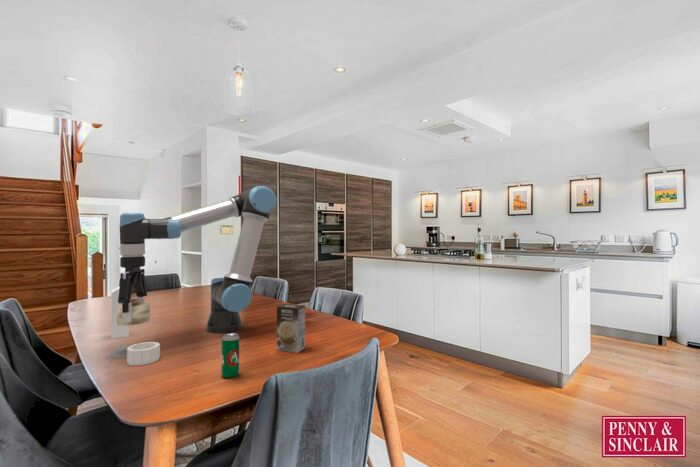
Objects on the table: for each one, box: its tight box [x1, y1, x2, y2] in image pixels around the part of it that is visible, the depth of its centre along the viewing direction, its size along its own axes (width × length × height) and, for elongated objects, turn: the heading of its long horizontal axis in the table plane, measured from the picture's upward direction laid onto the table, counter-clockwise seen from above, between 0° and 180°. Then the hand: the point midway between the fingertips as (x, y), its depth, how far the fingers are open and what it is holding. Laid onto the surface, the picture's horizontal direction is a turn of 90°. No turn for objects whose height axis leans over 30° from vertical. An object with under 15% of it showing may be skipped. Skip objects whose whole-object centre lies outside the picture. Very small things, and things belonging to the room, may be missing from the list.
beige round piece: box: [117, 298, 151, 326], centre depth 121 cm, size 10×10×8 cm
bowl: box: [126, 341, 161, 366], centre depth 111 cm, size 9×9×5 cm
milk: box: [110, 285, 130, 340], centre depth 139 cm, size 6×6×22 cm
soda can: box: [220, 332, 241, 379], centre depth 100 cm, size 5×5×12 cm
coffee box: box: [275, 303, 306, 354], centre depth 124 cm, size 9×6×16 cm
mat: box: [104, 345, 130, 359], centre depth 120 cm, size 12×12×1 cm
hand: (133, 317), depth 121 cm, fingers closed on beige round piece, 10 cm apart
